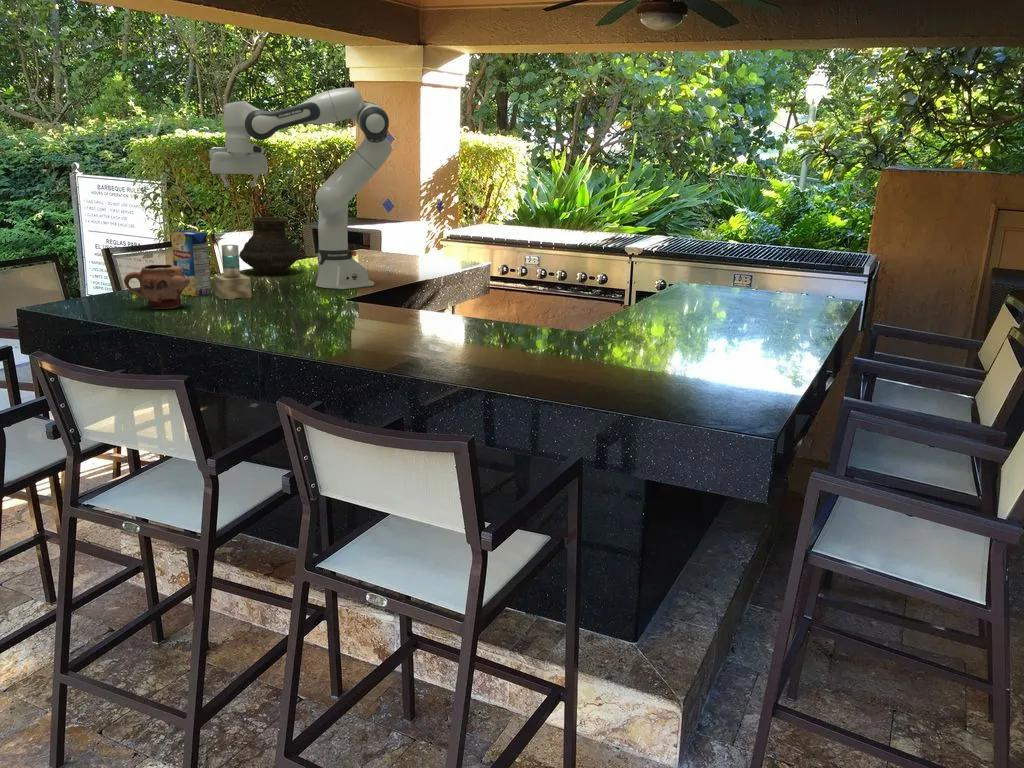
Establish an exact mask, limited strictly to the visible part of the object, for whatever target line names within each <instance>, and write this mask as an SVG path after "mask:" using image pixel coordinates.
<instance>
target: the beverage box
mask: <svg viewBox="0 0 1024 768" xmlns="http://www.w3.org/2000/svg"><path fill="white" fill-rule="evenodd" d="M170 235H171V237H170V238H171V239H170V240H171V250H172V262H173V263H172V264H173V265H174V266H178V267H181V268H182V269H183V271H184V274H185V275H186V276H187V277H188V278H189V279H190V284H189V285H188V286H187V287H186V288H184V289H183V291H182V293H181V295H183V294H184V296H189V295H191V296H190V297H194V296H198V297H202V295H203V296H208V294H209V295H212V282H211V280H212V279H211V265H210V255H209V254H210V253H209V251H210V250H209V235H208V232H204V231H197V230H190V229H189V230H188V229H186V230H173V231H170Z"/></svg>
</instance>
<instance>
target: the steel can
mask: <svg viewBox="0 0 1024 768" xmlns="http://www.w3.org/2000/svg"><path fill="white" fill-rule="evenodd" d="M221 253H222V254H221V262H222V275H223V277H225V278H237V277H240V274H241V273H240V272H241V271H240V269H241V268H240V267H241V266H240V257H239V254H240V251H239V245H238V244H222V245H221Z"/></svg>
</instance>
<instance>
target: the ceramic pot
mask: <svg viewBox="0 0 1024 768" xmlns="http://www.w3.org/2000/svg"><path fill="white" fill-rule="evenodd" d="M248 219H249V220H250V221H251V222H252V226H253V231H252V235H251V236H250V238H249V239H248V241H246V242H245V243H244V246H243V248H242V249H241V250H240V251H239V259H241V260H242V261H243V263H245V264H247V265H248V266H249V267H251V268H252V269H253V270H254V271H256V272H258V273H259V274H262V275H277V274H281V273H282V272H285V271H286V270H288V268H290V267H291V266H293V265H294V264H295V263H296V262H297V260H299V259H300V257H301V253H300V251H299V250H298V248H297V247H296V246H295V245H294V244H293V242H292V241H290V239H289V238H288V237H287V233H286V223H287V222H288V221H289V219H288V218H286V217H279V216H256V217H255V216H254V217H249V218H248Z"/></svg>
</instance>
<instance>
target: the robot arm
mask: <svg viewBox="0 0 1024 768" xmlns="http://www.w3.org/2000/svg"><path fill="white" fill-rule="evenodd" d="M223 111H224V112H223V127H224V130H225V135H224V146H225V147H224V146H220V147H219V146H212V147H211V148H210V149H209V150H208V157H209V160H210V161H209V171H210V172H211V173H212V174H215V175H216V174H217V175H220V179H222V181H223V186H224V187H225V188H229V187H231V185H230V181H227V178H226V177H227V175H230V174H231V175H252V177H253V179H252V181H250V182H249V183H250V184H249V186H250V187H251V188H256V187H257V186H256V183H257V180H258V179H259V175H267V173H268V172H269V167H268V166H269V165H268V160H267V157H266V155H265V154H264V153H265V148H264V147H263V146H260V145H257V144H255V143H252V141H251V138H253V139H255V140H258V141H264V140H265V141H266V140H267V139H269V138H272V137H273V136H274V135H275V134H276V132H279V131H281V130H283V129H287V128H290V127H294V126H299V125H303V124H311V125H312V124H313V125H327V124H332V123H338V122H341V121H344V120H353V121H355V122H356V124H357V125H358V128H359V129H360V130H361V131H362V133H363V135H364V138H363V140H362V142H361V143H360V144H359V145H358V146H357V148H355V149H354V151H353V152H352V153H351V154H350V155H349V156H348V157H347V158H346V159H345V160H344V162H343V163H341V165H340V166H339V167H338V168H337V169H336V170H335V171H334V172H333V173H332V174H331V175H330V176H329V177H328V178H327V179H326V180H325V181H324V183H322V185H321V186H319V188H318V189H317V191H316V193H315V203H316V206H317V207H318V220H317V221H318V222H317V232H318V233H317V237H318V249H317V255H316V256H317V263H318V270H317V278H316V283H315V286H316V287H319V288H325V289H337V290H346V289H347V290H349V289H356V288H364V287H372V286H374V285H375V282H374V281H372V280H370V279H369V275H368V270H367V269H366V268H365V267H364V266H363V265H362V264H360V263H359V262H358V261H357V260H355V259H354V258H353V257H356V256H357V255H358V252H357V251H356V250H352V249H349V243H348V242H349V241H348V240H349V239H348V235H349V233H348V224H349V223H348V221H349V216H348V215H349V202H350V201H351V200H352V199H353V198H354V197H355V196H356V195H357V194H358V193H359V192H360V190H361V189H362V188H363V187H364V186H365V185H366V184H367V183H368V182H369V181H370V179H372V178H373V177H374V176H375V174H376V173H377V172H378V171H380V169H381V167H382V166H383V165H384V164H385V162H386V161H387V160H388V158H389V156H390V155H391V153H392V150H393V147H392V144H391V141H390V140H389V139H388V138H387V135H388V131H389V127H390V119H389V118H390V117H389V115H388V114H387V112H386V110H385V109H384V108H383V107H381V106H380V105H378V104H376V103H374V102H370V101H366V100H363V95H362V94H361V93H360V91H359V90H358V89H357V88H355V87H339V88H333V89H330V90H329V89H328V90H326V91H323V92H320V93H317V94H314V95H313V96H311V97H309V98H308V99H306V100H305V101H303V102H301V103H299V104H296V105H294V106H290V107H287V108H283V109H278V110H274V111H270V110H269V111H268V110H263V109H260V108H257V107H255V106H253V105H252V104H251V103H249V102H247V100H244V99H240V100H232V101H229V102H227V103H226V104H225V105H224V110H223Z"/></svg>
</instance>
